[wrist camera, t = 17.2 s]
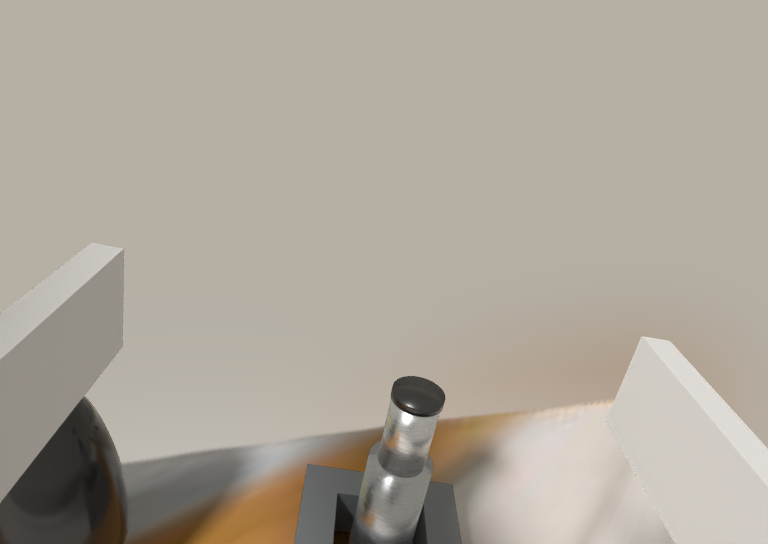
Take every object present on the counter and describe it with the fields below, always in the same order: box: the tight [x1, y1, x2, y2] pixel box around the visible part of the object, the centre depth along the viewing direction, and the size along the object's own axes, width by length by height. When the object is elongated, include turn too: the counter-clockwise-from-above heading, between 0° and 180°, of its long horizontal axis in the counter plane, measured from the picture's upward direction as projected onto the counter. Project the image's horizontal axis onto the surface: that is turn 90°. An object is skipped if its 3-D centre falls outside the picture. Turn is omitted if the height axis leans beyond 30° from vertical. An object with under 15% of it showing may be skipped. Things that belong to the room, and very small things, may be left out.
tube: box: [348, 376, 445, 544], centre depth 40 cm, size 4×4×17 cm
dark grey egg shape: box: [0, 396, 129, 544], centre depth 35 cm, size 10×10×15 cm
